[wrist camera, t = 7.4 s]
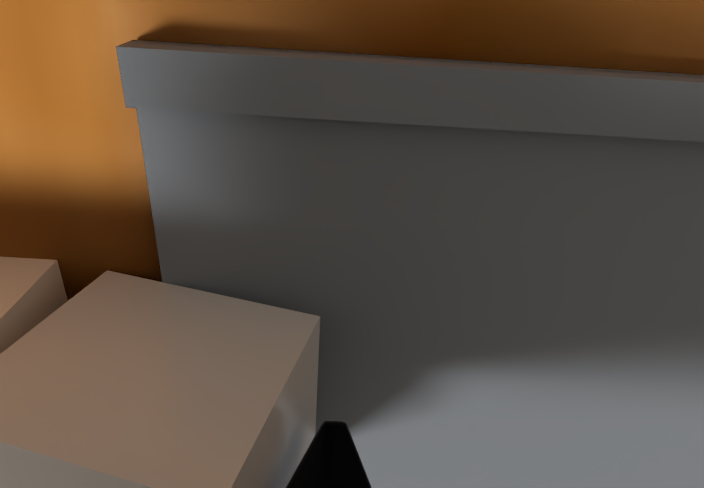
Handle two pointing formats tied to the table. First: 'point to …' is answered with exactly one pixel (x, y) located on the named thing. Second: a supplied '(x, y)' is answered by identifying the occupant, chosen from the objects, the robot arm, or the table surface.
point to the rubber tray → (451, 249)
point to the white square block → (27, 295)
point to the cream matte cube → (158, 391)
